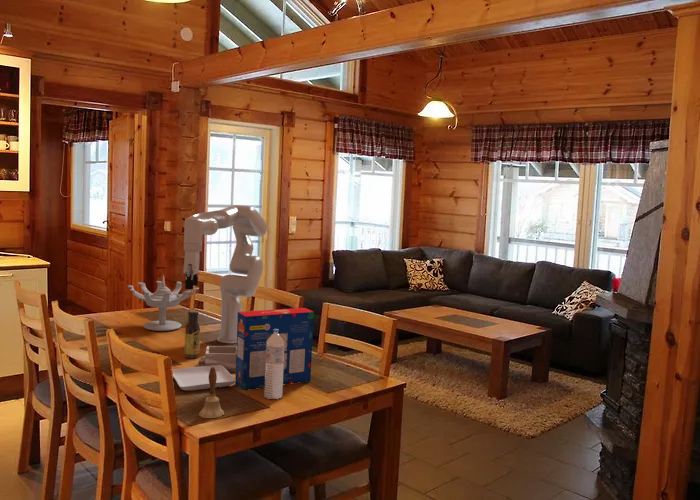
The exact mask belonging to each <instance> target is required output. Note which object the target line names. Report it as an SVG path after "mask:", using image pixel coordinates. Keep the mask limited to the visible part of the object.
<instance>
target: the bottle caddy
mask: <svg viewBox="0 0 700 500" xmlns="http://www.w3.org/2000/svg"><path fill="white" fill-rule="evenodd" d="M236 349H237V345H235V346H233V345H232V346H231V345H207V346H206V350H205V357H200V361H199V364H198V365H199V366H198V367H201V366H211V365H222V366H223V367H224V368H225V369H226V370H227V371H228V372H229V373H230V374H236Z"/></svg>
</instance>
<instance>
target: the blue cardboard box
mask: <svg viewBox="0 0 700 500" xmlns="http://www.w3.org/2000/svg"><path fill="white" fill-rule="evenodd" d="M314 313H315V312H314V311H313V310H311V309H308V308H307V307H294V308H293V307H292V308H281V309H280V308H278V309H263V310H249V311H248V310H246V311H242V312H238V321H237V343H236V346H237V349H236V373H235V376H234V378H235V379H236V382H235V383H234V384H235V386H237V387H238V386H239V387H240V388H241V389H240V388H239V387H238V388H239V389H240V390H241V391H243V390H245V391H249V390H248V389H252V390H257V389H256V388H260V389H264V388H263V387H264V377H265V376H264V375H265V358H266V340H267V338H268V337H269V336H270V335H271V334H273V333H274V332H273V329H278V330H279V331H278V334H280V335H281V336H282V337H283V338H284V340H285V345H284V374H283V375H284V376H283V384H290V385H292V384H291V383H298V382H305V383H307V382H306V381H310V382H311V378H312V358H313V340H314V339H313V337H314V318H315V314H314ZM298 384H299V383H298Z"/></svg>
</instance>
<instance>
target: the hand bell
mask: <svg viewBox="0 0 700 500" xmlns="http://www.w3.org/2000/svg"><path fill="white" fill-rule="evenodd" d="M216 380H217V374H216V371H215V367H211V370H210V372H209V383H210V389H209V396H207V397H206V398H205V399H204V400H205V401H204V406H203V407H202V409H201V410H200V411H199V413H198V416H199V417H200V418H203V419H205V418H216V417H220V416H222V415H224V416H225V414H224V413H225V411H224V410H223V409H222V407H221V404H220V398H219V397H217V396H216V388H215V384H216ZM222 417H223V416H222ZM220 418H221V417H220Z"/></svg>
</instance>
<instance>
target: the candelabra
mask: <svg viewBox="0 0 700 500" xmlns="http://www.w3.org/2000/svg"><path fill="white" fill-rule="evenodd" d="M155 282H156V283H157V287H156V288H157V289H155V291H154V292H153V293H152V292H151V291H149V289H148V288H147V286H146V283H145V282H142V281H141V282H140V281H139V282H137V283H136V284H137V285H140V289H141V291H142V292H143V294H142V293H140V292H138V291H137V290H135V288H134V287H135V286H134V285H127V288H130V289H129V291H130V292H131V293H132V295H133V296H134V297H136V299H137V298H138V299H139V300H141V301H144V302H146V305H147V306H149V307H150V308H151V307H152V308H157V309H158V311H159V318H158V320H152V321H148V322H144V324H142V327H143V328H144V329H146V330H148V331H154V332H155V331H156V332H167V331H174V330H175V331H176V330H178V329H181V327H182V323H180V322H178V321H175V320H167V311H168V308H174V307H178V306H179V305H180V303H181V302H182V301H184V300H186V299H189V298H190V297H192V296H193V295H195V293H196V291H197V290H199V289H200V287H195V286H193V289H187V290H186V291H182V293H181V294H180V293H179V292H180V291H181V289H182V287H183V286H182V282H181V281H176V285H175V288H174V289H173V290H172V291H171V289H170V288H169V287H168V286H167V285H166V283H165V274H163V276H162V280H156V281H155ZM194 287H195V288H194Z"/></svg>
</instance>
